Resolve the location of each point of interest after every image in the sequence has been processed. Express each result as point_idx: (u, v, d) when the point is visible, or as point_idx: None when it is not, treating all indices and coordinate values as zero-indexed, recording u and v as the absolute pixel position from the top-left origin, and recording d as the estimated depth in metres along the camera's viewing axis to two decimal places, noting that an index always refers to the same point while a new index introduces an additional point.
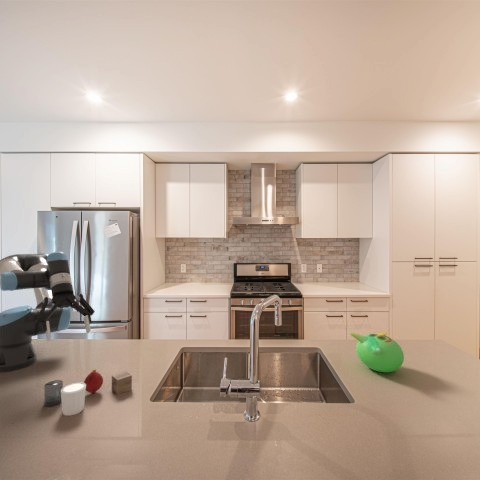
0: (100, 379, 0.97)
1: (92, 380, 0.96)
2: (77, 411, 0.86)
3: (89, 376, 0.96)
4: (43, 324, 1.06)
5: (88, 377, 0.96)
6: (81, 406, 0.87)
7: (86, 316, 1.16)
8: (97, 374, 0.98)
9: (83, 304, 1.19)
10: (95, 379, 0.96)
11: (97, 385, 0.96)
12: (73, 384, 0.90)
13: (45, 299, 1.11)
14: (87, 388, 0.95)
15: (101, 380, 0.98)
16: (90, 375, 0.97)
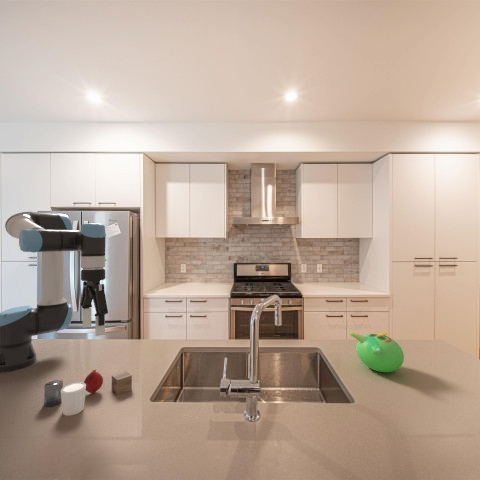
0: (100, 379, 0.97)
1: (92, 380, 0.96)
2: (77, 411, 0.86)
3: (89, 376, 0.96)
4: (103, 318, 0.93)
5: (88, 377, 0.96)
6: (81, 406, 0.87)
7: None
8: (97, 374, 0.98)
9: None
10: (95, 379, 0.96)
11: (97, 385, 0.96)
12: (73, 384, 0.90)
13: None
14: (87, 388, 0.95)
15: (101, 380, 0.98)
16: (90, 375, 0.97)
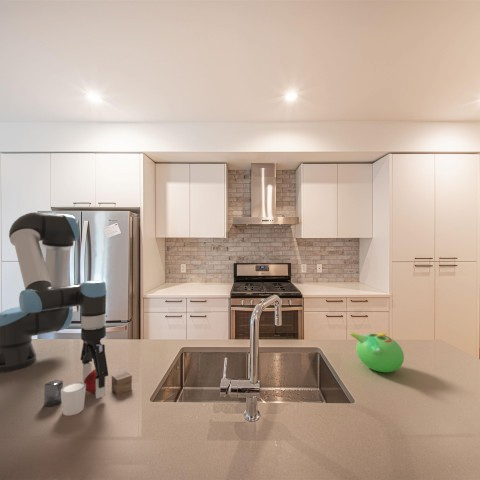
0: None
1: (92, 380, 0.96)
2: (77, 411, 0.86)
3: (89, 376, 0.96)
4: None
5: (88, 377, 0.96)
6: (81, 406, 0.87)
7: (91, 364, 1.04)
8: None
9: None
10: (95, 379, 0.96)
11: None
12: (73, 384, 0.90)
13: None
14: (87, 388, 0.95)
15: None
16: (90, 375, 0.97)
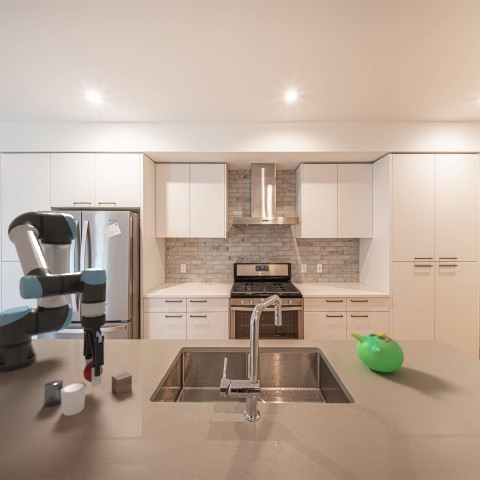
0: None
1: None
2: (77, 411, 0.86)
3: (89, 365, 0.97)
4: (99, 368, 0.95)
5: (88, 366, 0.96)
6: (81, 406, 0.87)
7: None
8: None
9: None
10: None
11: None
12: (73, 384, 0.90)
13: None
14: (87, 377, 0.95)
15: (101, 369, 0.98)
16: (90, 364, 0.97)
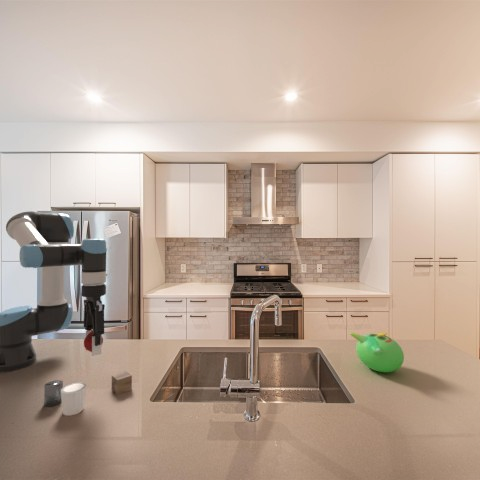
0: None
1: None
2: (77, 411, 0.86)
3: (89, 335, 0.97)
4: None
5: (88, 336, 0.96)
6: (81, 406, 0.87)
7: None
8: None
9: None
10: None
11: None
12: (73, 384, 0.90)
13: None
14: (87, 346, 0.95)
15: (101, 339, 0.98)
16: (90, 333, 0.97)
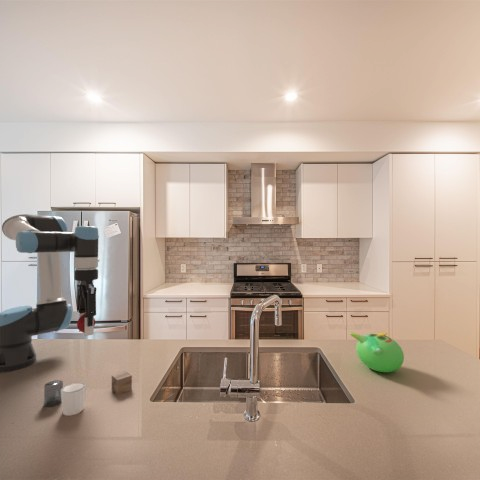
0: None
1: None
2: (77, 411, 0.86)
3: (82, 316, 1.02)
4: None
5: (81, 317, 1.02)
6: (81, 406, 0.87)
7: None
8: None
9: None
10: None
11: None
12: (73, 384, 0.90)
13: None
14: (80, 327, 1.01)
15: None
16: (83, 315, 1.03)
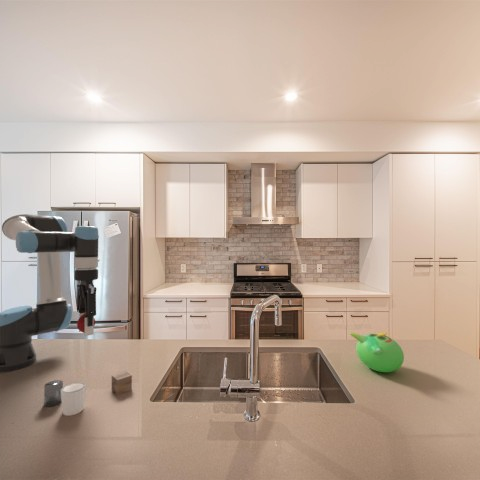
0: None
1: None
2: (77, 411, 0.86)
3: (82, 316, 1.02)
4: None
5: (81, 317, 1.02)
6: (81, 406, 0.87)
7: None
8: None
9: None
10: None
11: None
12: (73, 384, 0.90)
13: None
14: (80, 327, 1.01)
15: None
16: (83, 315, 1.03)
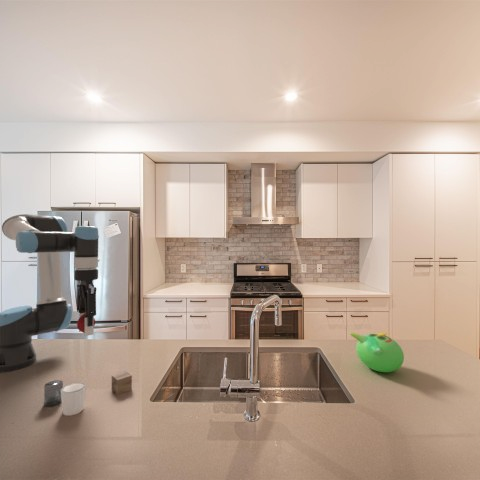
0: None
1: None
2: (77, 411, 0.86)
3: (82, 316, 1.02)
4: None
5: (81, 317, 1.02)
6: (81, 406, 0.87)
7: None
8: None
9: None
10: None
11: None
12: (73, 384, 0.90)
13: None
14: (80, 327, 1.01)
15: None
16: (83, 315, 1.03)
